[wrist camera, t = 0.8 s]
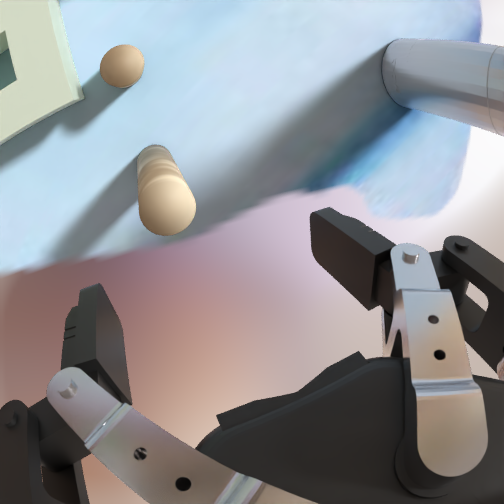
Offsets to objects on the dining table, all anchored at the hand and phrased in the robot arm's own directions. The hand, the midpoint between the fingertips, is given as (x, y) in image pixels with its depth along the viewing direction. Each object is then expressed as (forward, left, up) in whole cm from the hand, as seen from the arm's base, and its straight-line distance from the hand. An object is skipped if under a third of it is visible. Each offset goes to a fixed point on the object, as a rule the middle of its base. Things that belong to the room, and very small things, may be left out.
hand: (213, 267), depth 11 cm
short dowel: (+1, -9, -19) cm, 21 cm away
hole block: (+11, -14, -19) cm, 26 cm away
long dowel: (+1, 0, -19) cm, 19 cm away
